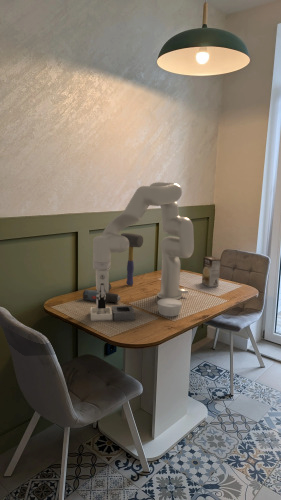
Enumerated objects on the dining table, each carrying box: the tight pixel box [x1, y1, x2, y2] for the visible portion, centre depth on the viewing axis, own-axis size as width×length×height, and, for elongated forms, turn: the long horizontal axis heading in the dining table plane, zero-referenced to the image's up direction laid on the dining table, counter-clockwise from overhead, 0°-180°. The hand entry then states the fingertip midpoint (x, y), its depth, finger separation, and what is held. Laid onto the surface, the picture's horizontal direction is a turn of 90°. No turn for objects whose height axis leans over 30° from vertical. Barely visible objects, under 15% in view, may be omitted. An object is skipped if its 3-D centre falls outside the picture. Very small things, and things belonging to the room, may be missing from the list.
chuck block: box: [111, 305, 136, 322], centre depth 157 cm, size 9×9×3 cm
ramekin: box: [156, 298, 183, 317], centre depth 163 cm, size 11×11×5 cm
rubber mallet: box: [120, 232, 144, 287], centre depth 201 cm, size 12×8×30 cm, turn 58°
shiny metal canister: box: [95, 294, 106, 314], centre depth 155 cm, size 4×4×9 cm
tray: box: [89, 306, 113, 322], centre depth 156 cm, size 9×9×3 cm
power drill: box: [82, 282, 122, 304], centre depth 183 cm, size 5×19×20 cm
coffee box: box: [201, 256, 222, 288], centre depth 211 cm, size 9×6×16 cm
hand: (101, 305), depth 155 cm, fingers open, 6 cm apart
